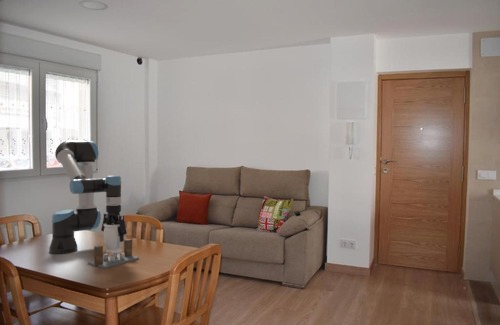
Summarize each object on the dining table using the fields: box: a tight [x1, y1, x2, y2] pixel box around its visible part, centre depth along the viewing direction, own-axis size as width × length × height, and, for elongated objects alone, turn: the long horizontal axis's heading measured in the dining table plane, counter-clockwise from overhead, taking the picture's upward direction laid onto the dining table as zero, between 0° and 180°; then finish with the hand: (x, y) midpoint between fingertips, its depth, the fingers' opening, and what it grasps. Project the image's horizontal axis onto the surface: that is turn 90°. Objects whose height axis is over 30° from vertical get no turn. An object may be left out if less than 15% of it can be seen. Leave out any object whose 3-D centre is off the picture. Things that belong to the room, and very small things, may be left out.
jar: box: [102, 222, 123, 254], centre depth 221 cm, size 11×10×15 cm
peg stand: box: [87, 252, 140, 270], centre depth 221 cm, size 14×22×4 cm, turn 146°
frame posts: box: [93, 238, 133, 268], centre depth 221 cm, size 3×22×10 cm, turn 146°
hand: (113, 246), depth 221 cm, fingers closed on jar, 10 cm apart
